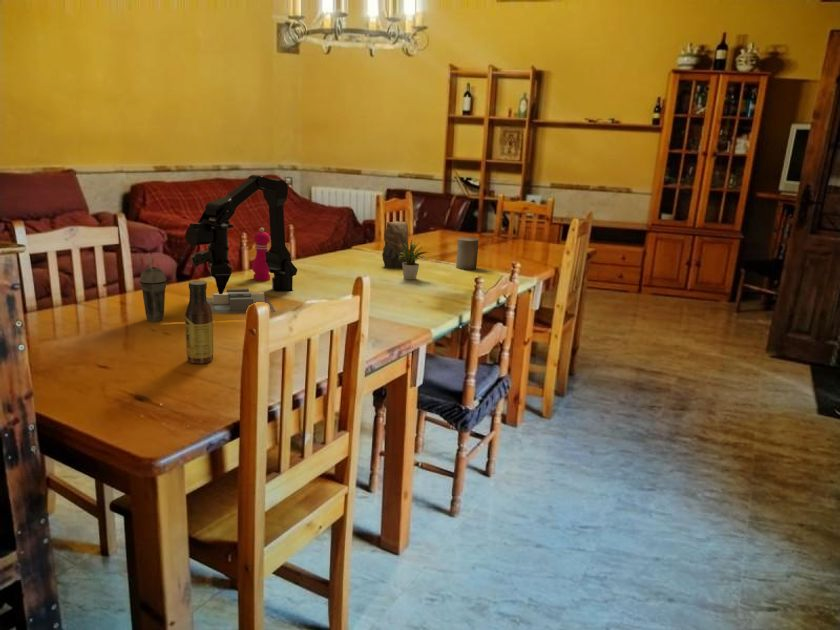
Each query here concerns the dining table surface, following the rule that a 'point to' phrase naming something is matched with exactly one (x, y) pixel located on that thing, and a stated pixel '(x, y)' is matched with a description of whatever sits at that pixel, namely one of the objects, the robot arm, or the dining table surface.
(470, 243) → the pillar candle
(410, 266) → the house plant
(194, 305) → the sauce bottle
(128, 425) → the dining table surface
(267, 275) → the pepper mill
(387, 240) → the rough stone block
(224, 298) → the light grey bar
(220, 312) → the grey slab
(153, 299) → the beverage cup
